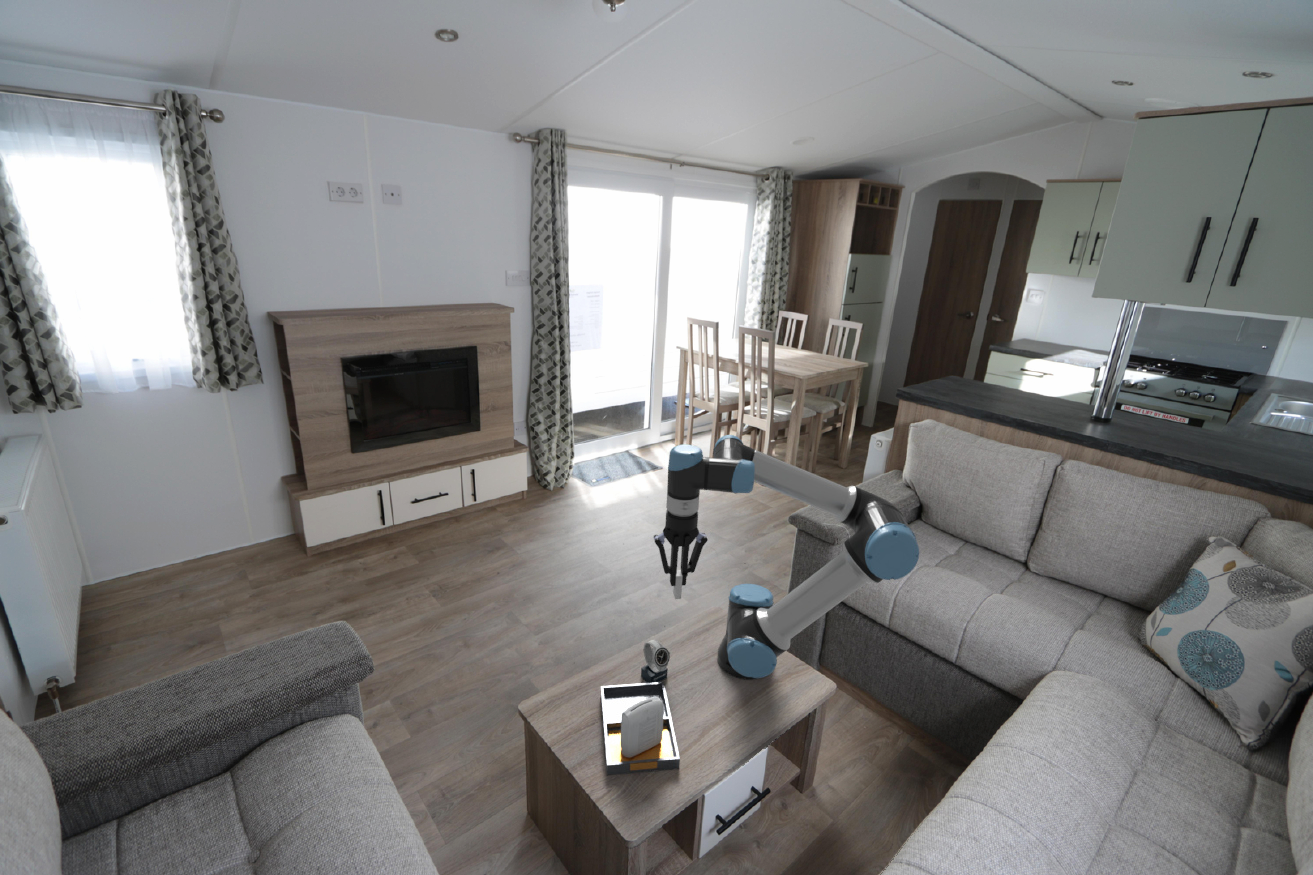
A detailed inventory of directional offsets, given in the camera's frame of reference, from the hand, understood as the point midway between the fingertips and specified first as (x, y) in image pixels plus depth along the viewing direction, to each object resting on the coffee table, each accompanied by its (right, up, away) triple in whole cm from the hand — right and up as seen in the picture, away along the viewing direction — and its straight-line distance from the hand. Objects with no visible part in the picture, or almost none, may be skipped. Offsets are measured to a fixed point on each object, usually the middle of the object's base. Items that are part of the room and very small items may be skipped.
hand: (677, 595), depth 150 cm
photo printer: (-9, -32, -9) cm, 35 cm away
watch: (-6, -25, +13) cm, 29 cm away
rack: (-10, -31, -4) cm, 33 cm away
